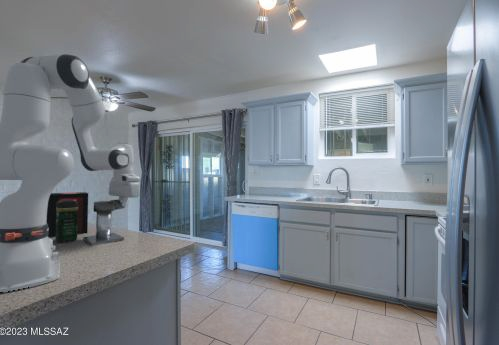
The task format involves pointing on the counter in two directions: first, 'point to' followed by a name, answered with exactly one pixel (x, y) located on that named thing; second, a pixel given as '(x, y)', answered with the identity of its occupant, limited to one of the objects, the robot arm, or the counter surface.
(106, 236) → the silver pedestal stand
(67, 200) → the coffee jar
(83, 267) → the counter surface
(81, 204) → the cleaning product box
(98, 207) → the elbow
